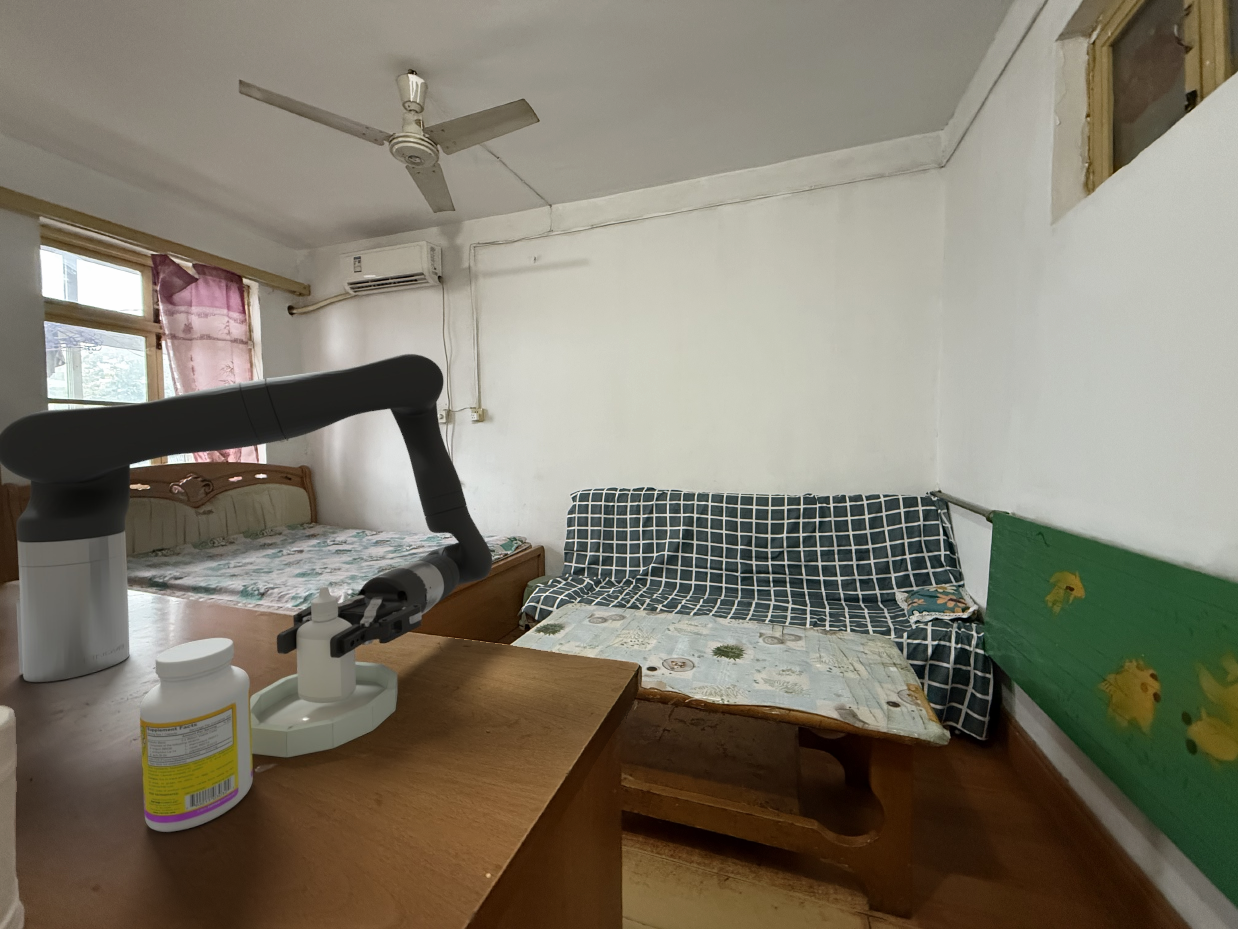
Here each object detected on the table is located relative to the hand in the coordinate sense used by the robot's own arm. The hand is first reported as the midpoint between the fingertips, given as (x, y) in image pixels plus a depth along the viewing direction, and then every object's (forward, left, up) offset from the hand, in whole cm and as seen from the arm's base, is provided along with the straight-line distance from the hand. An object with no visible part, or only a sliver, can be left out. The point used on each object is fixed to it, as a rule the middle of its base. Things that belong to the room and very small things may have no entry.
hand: (307, 646), depth 49 cm
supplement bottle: (0, -11, -9) cm, 14 cm away
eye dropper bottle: (0, +3, -7) cm, 7 cm away
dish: (0, +2, -8) cm, 9 cm away
